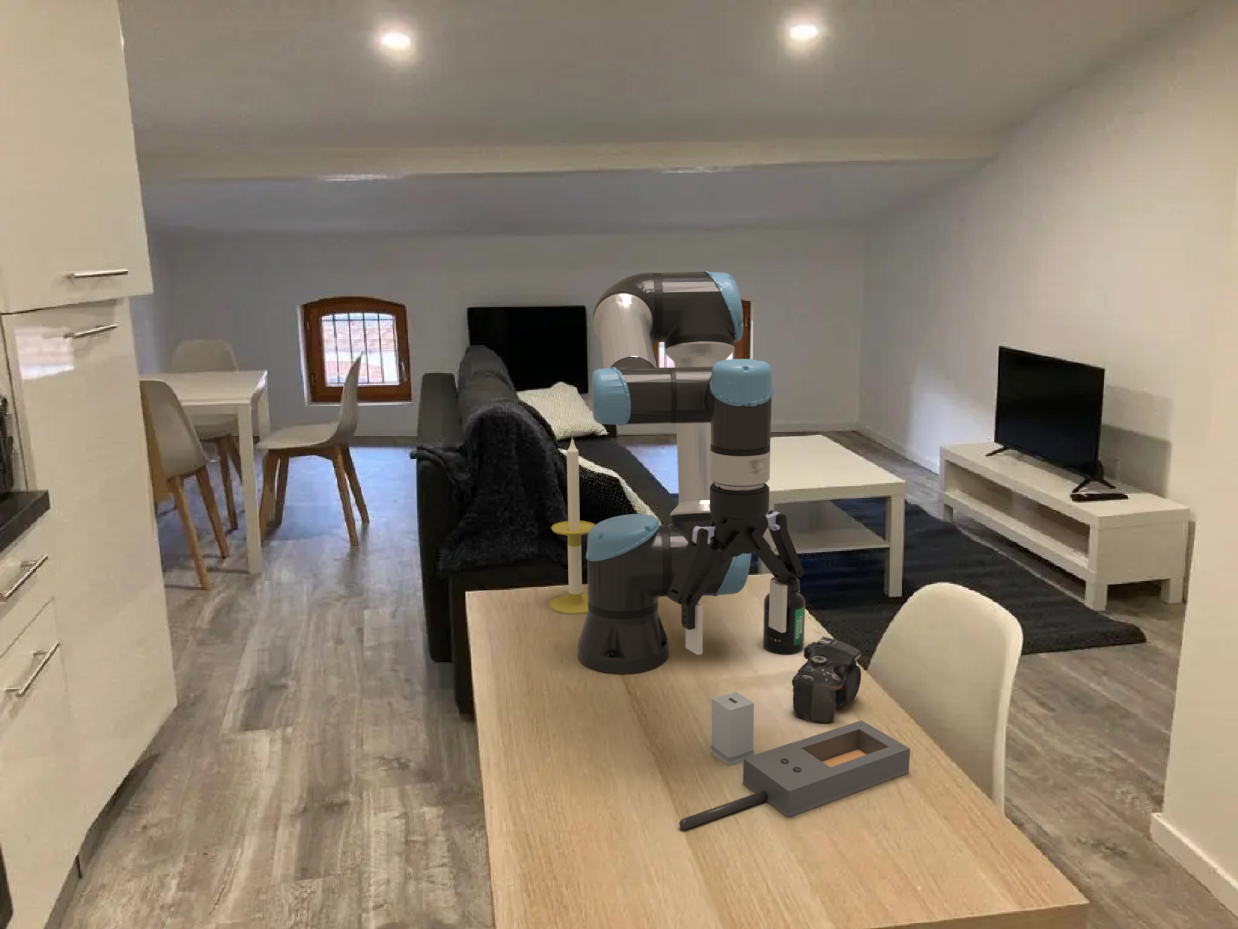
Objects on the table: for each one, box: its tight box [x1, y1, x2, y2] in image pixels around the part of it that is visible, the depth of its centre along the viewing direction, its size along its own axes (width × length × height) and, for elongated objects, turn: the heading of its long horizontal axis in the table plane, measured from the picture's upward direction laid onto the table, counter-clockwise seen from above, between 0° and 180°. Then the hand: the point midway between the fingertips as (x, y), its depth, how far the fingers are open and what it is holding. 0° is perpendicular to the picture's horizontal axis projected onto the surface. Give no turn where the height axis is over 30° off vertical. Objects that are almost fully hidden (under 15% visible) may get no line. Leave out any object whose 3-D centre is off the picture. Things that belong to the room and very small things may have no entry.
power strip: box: [678, 720, 911, 830], centre depth 127 cm, size 33×9×4 cm, turn 120°
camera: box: [791, 635, 862, 724], centre depth 149 cm, size 13×10×10 cm
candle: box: [549, 436, 596, 615], centre depth 188 cm, size 10×10×32 cm
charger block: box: [710, 691, 755, 767], centre depth 135 cm, size 4×4×8 cm
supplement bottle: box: [762, 576, 806, 655], centre depth 170 cm, size 7×7×12 cm
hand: (736, 640), depth 132 cm, fingers open, 13 cm apart
